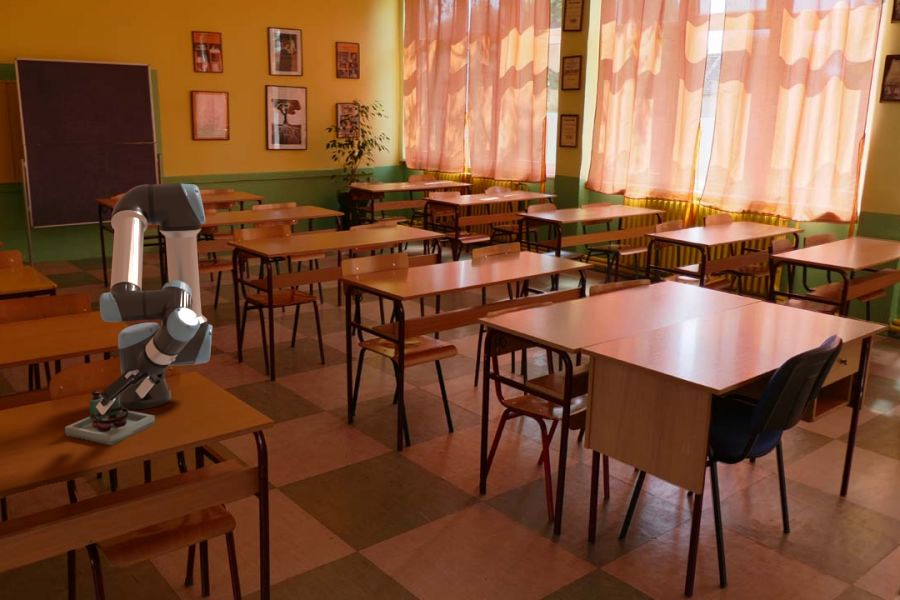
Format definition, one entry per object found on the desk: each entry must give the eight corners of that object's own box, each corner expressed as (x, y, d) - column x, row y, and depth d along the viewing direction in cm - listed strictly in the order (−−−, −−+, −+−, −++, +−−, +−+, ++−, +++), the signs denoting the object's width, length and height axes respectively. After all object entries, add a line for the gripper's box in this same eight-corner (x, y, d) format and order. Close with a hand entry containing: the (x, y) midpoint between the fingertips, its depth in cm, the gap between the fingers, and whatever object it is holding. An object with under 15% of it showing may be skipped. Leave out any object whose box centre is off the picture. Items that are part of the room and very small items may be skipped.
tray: (111, 415, 225) (110, 407, 225) (155, 423, 220) (154, 415, 219) (65, 435, 211) (64, 427, 210) (111, 445, 205) (110, 436, 205)
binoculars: (103, 401, 206) (83, 390, 212) (104, 438, 209) (85, 425, 215) (134, 392, 213) (114, 381, 219) (135, 427, 216) (116, 415, 222)
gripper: (130, 379, 190) (90, 428, 199) (200, 353, 212) (162, 398, 221) (111, 356, 191) (73, 406, 200) (183, 332, 213) (146, 377, 222)
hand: (120, 402), depth 211 cm, fingers open, 13 cm apart
